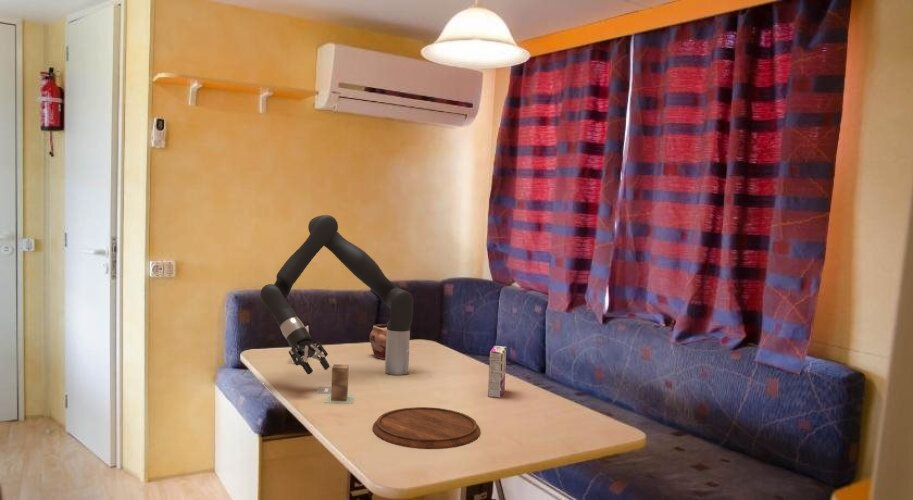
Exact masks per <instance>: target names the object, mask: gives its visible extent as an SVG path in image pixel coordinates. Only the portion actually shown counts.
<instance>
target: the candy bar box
mask: <svg viewBox="0 0 913 500" xmlns="http://www.w3.org/2000/svg"><path fill="white" fill-rule="evenodd" d="M506 362H507V346H501V345H493V347H492V349H490V351H489V359H488V385H487V386H488V389H487V397H488V398H495V399H501V398H502V396H503V394H504V392H505V390H506V389H505V388H506V387H505V386H506V369H507V368H506V367H507V366H506V364H507V363H506Z"/></svg>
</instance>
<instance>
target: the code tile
mask: <svg viewBox="0 0 913 500" xmlns="http://www.w3.org/2000/svg"><path fill="white" fill-rule="evenodd" d="M319 394H320V395H331V386H322V385H321V386H318V388H317V391H316V395H319Z"/></svg>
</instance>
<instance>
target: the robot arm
mask: <svg viewBox="0 0 913 500" xmlns="http://www.w3.org/2000/svg"><path fill="white" fill-rule="evenodd" d="M307 229H308V232H309V235H308V237H306V240H304V242H303V243H302V244H301V245H300V246H299V248H298V249H297V250H296V251H294V252H293V254H291V256H289V258H288V259H287V260H286V261H285V262H284V263H283V265H282V267H280V269H279V270H278V272H277V273H276V277H275V278H276V281H275V282H274V284H272V283H267V284H265V285H264V286H262V288H261V290H260V293H259V295H260V299H261V300H262V303H263V304H264V305H265V306H266V307H267V310H268V311H269V312H270V313H271V314H272V316H273V318H274V320H275V322H276V324H277V325H278V327H279V329H280V331H281V333H282V335H283V337H284V338H285V340H286V341H287V343H288V345H289V346H290V350H289V351H288V354H289V356H290V358H291V361H292V360H293V361H294V363H295V364H294V365H295V366H300V367H301V368H302V369H303V371H304V372H305V373H306V374H307V375H311V374H312V373H313V372H314V370H313V368H312V366H311V365H310V364H309V362H308V360H307V358H308V359H309V358H310V359H311V358H312V359H314V360H317V361H318V362H319V363H320V365H321V366H322V368H323V370H324V371H328V369H329V368H330V364H329V362H328V359H327V358H326V357H328V355H329V354H328V352H327V350H326V349H325V348H324V346H323V345H322V343H321V342H320V341H317V342H316V343H314V342H312V336H311V334H310V332H309V333H308V331H307V330H306V328H305V327H306V326H305V325H304V323H303V322H302V320H301V319H300V318H299V317H298V315H297V314H296V312H295V311H294V309H293V308H292V306H290V305H289V303H288V302H287V298H288V297H289V294H290V293H291V290H292V288H293V286H294V284H295V283H296V282H297V280H299V278H300V277H301V275H302V273H304V271H305V269H306V268H307V267H308V265H309V264H310V263H311V261H312V260H313V259H314V258H315V257H316V255H318V253H319V252H320V251H321V250H322V248H323V247H325V248H327V250H328V251H330V252H331V254H333V255H334V256H335V257H336V258H337V259H338V260H339V261H340V263H341V264H342V265H344V266H345V267H346V269H348V270H349V271H350V272H351V274H353V276H355V278H357V279H358V280H359V281H361V282H362V283H363V284H364V285H366V286H367V287H368V288H370V289H371V290H372V291H373V292H374V293H375V294H376V295H377V296H378V297H379V298H380V299H381V300H382V302H383V303H384V304H385V306H387V308H388V309H390V314H389V315H390V316H389V317H390V318H389V320H388V321H387V324H386V325H387V336H386V358H385V359H384V360H385V362H384V365H385V366H384V373H385V374H387V375H392V376H395V375H396V376H402V375H409V364H410V363H409V361H410V340H411V325H412V323H413V315H414V298H413V295H412V294H411V293H410V292H409V291H408V290H404V289H402V288H400V287H398V286H397V285H396V284H394V283H393V281H391V280H390V279H389V278H387V277H386V275H385V273H384V272H383V270H382V269H381V267H380V266H379V265H378V263H377V262H376V261H375V260H374V259H373V258H372V257H371V256H370V255H369V254H368V253H367V252H365V250H363V249H362V248H360V247H359V246H357V245H355V244H354V243H352V242H350V241H349V240H347V239H346V238H345V237H343V235H341V233H339V231H338V230H339V224H338V221H337V219H336V218H335V217H334V216H332V215H329V214H323V215H317V216H315V217H313V218H311V220H310V221H309V222H308V227H307ZM296 358H297V359H298V361H297V359H296Z"/></svg>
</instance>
